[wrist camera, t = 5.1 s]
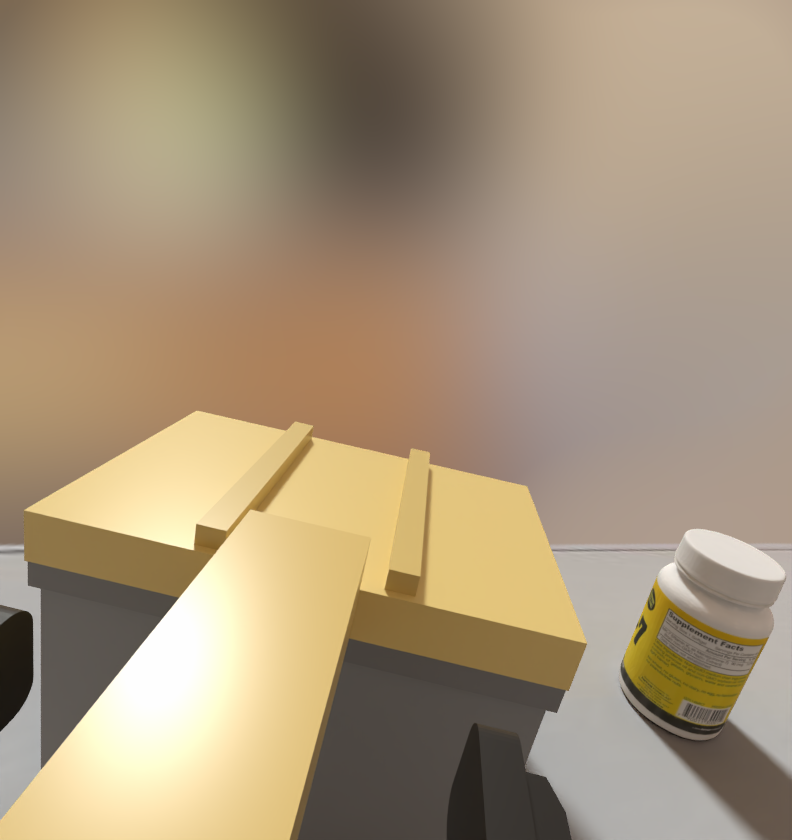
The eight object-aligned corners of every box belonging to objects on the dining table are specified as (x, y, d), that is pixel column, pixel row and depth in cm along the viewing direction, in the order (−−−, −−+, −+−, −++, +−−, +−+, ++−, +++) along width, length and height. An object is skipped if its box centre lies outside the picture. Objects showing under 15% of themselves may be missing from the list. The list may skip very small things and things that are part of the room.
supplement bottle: (637, 650, 28) (695, 515, 26) (731, 712, 25) (808, 567, 23) (599, 686, 25) (661, 537, 22) (702, 764, 22) (787, 600, 19)
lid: (-576, 978, 6) (-695, 776, 5) (194, 442, 22) (200, 377, 22) (760, 1340, 5) (910, 1195, 4) (517, 517, 22) (537, 453, 21)
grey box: (30, 780, 16) (27, 559, 13) (180, 595, 25) (194, 443, 22) (485, 895, 15) (566, 689, 13) (470, 664, 24) (516, 517, 22)
